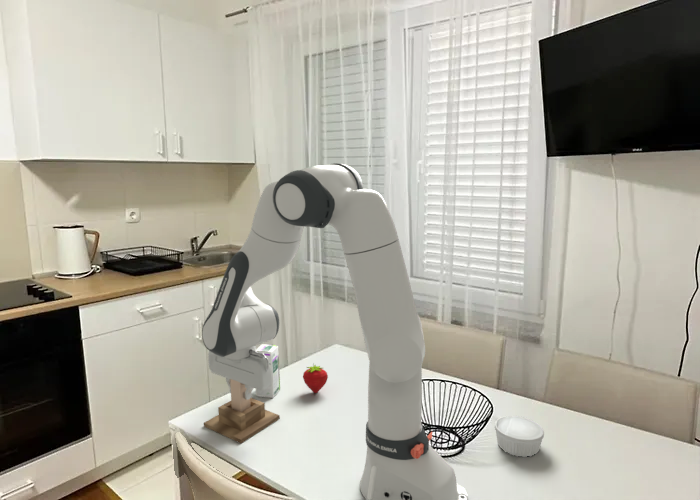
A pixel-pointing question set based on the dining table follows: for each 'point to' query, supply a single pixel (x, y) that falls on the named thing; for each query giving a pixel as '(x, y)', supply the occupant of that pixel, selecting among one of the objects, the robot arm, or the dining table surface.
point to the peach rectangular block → (238, 396)
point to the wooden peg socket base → (241, 421)
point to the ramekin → (519, 435)
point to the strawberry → (315, 378)
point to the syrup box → (273, 358)
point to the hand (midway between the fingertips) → (240, 395)
